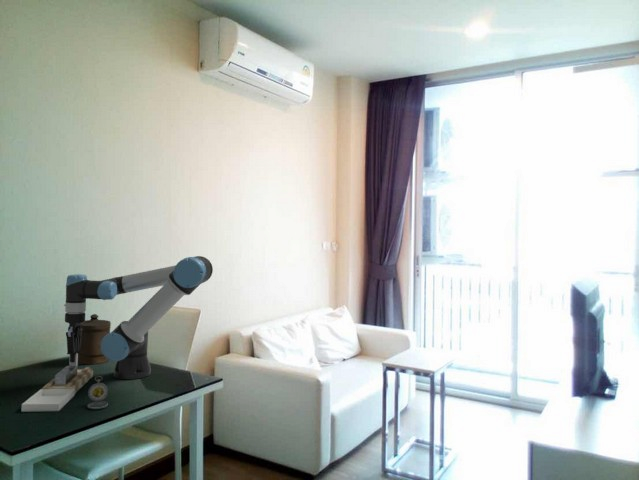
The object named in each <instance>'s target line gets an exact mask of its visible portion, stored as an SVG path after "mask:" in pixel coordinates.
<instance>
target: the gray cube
mask: <svg viewBox="0 0 639 480" xmlns="http://www.w3.org/2000/svg"><path fill="white" fill-rule="evenodd" d="M63 369H74V376H73V378H74V377H75V376H77V369H78V365H77V366H69V365H66V366H65V367H64V368H63Z"/></svg>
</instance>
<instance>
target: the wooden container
mask: <svg viewBox="0 0 639 480" xmlns="http://www.w3.org/2000/svg"><path fill="white" fill-rule="evenodd" d="M111 324H112V323H111V321H110V320H107V319H106V320H105V319H99V315H98V314H97V313H94V314H91V315H90V319H89V320H88V319H87V320H86V319H85V321H84V322H82V323H81V326H83V330H82V336H81V345H80V350H79V351H80V353H78V365H79V364H80V365H96V364H98V365H99V364H102V363H103V364H104V363H106V362H108V361H110V360H109V359H107V358H106V357H105V356H104V355H103V354H102V351H101V346H100V345H101V341H102V339H103V338H104V337H105V336H106V335H107V334H108V333H111V327H112V326H111Z"/></svg>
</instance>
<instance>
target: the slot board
mask: <svg viewBox="0 0 639 480" xmlns="http://www.w3.org/2000/svg"><path fill="white" fill-rule="evenodd" d="M93 375H94V369H93V368H91V367H90V366H86V367H85V368H81V369H79V368H77V376H75V377H74V378H73V379H72V380H71V381H70V382H69V383H67V384H66V386H55V377H54V378H53V379H51V380H50V381H48V383H46V384H45V385H44V386H43V387H42V389H75V394H76V393H77V392H78V391H79V390H80V389H82V388H83V386H84V385H86V383H88V382H89V380H91V379H92V378H93Z"/></svg>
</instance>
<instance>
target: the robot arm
mask: <svg viewBox="0 0 639 480" xmlns="http://www.w3.org/2000/svg"><path fill="white" fill-rule="evenodd" d="M213 270H214V269H213V265H212V263H211V261H210V260H209V259H208V258H207V257H204V256H200V255H197V256H196V255H195V256H188V257H187V256H186V257H185V258H182V259H180V260H179V261H178V262H177V263H176V264H175V265H171V266H165V267H161V268H157V269H151V270H147V271H141V272H136V273H131V274H125V275H122V276H117V277H112V278H107V279H103V280H91V279H90V280H89V279H88V276H87V275H86V274H81V273H80V274H69V275H68V276H67V277H66V283H65V304H64V305H63V306H64V307H65V309H64V311H65V312H66V313H65V314H64V322H65V323H66V324H69V325H68V328H67V331H65V337H66V348H67V350H66V351H67V353H66V354H67V355H69V357H68V358H69V360H68V363H69V365H68V366H77V367H78V365H79V363H78V353H80V351H79V350H80V345H81V336H82V330H83V326H81V323H82V322H84V321H86V310H87V309H86V307H87V299H89V300H102V301H106V300H111V301H112V300H114V299H115V297H116V296H119V295H122V294H128V293H132V292H137V291H138V292H139V291H142V290H148V289H153V288H159V287H161V288H159V290H158V291H156V293H154V295H152V297H151V298H149V300H147V301H146V302H145V304H144V305H143V306H142V307H141V308H139V310H138V311H137V312H136V313H135V314H134V315H133V316H131V317H130V319H128V320H122V321H121V322H120V323H119V324H118V325H117V326H116V327H115V328H114V330H112V331H110V333H108V334H107V335H106V336H105V337H104V338H103V339H102V341H101V345H100V346H101V351H102V354H103V355H104V356H105V357H106V358H107V359H109V360H108V361H110V362H111V361H112V362H116V363H115V367H114V369H113V377H114V378H117V379H121V380H137V379H141V378H146V377H148V376H150V375H151V372H152V368H151V363H150V362H149V358H148V347H149V346H148V341H149V331H150V330H151V329H152V328H153V327H154V326H155V325H156V324H157V323H158V322H159V320H161V319H162V318H163V317H164V316H165V315H166V314H167V313H168V311H170V310H171V309H172V308H173V307H174V306H176V304H177V303H178V302H179V301H180V299H182V298H183V297H184V296H190V295H191V294H192V293H193V292H194V291H195V290H196V289H197V288H198V287H199V286H200V285H202V284H204V283H205V282H207V281H209V280H210V278H211V277H212V275H213Z"/></svg>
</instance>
